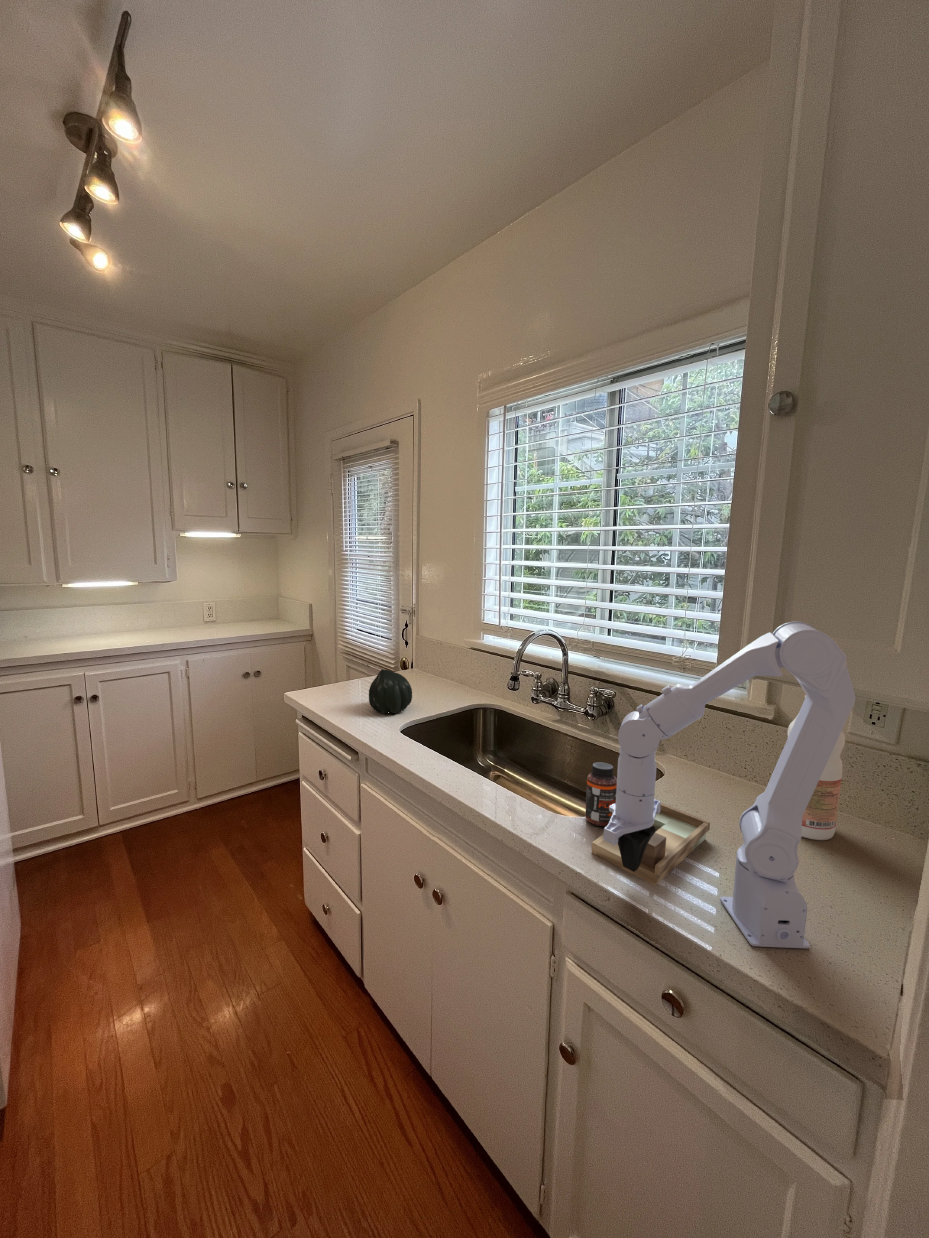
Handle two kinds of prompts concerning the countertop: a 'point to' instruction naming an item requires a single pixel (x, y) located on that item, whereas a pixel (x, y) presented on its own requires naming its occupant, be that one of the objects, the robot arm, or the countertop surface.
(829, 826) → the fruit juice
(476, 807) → the countertop surface
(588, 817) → the supplement bottle
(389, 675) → the squash
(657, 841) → the walnut block
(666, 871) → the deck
